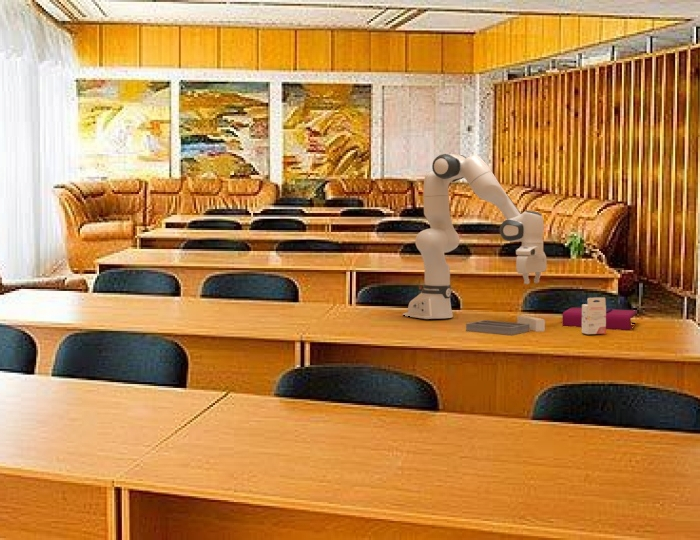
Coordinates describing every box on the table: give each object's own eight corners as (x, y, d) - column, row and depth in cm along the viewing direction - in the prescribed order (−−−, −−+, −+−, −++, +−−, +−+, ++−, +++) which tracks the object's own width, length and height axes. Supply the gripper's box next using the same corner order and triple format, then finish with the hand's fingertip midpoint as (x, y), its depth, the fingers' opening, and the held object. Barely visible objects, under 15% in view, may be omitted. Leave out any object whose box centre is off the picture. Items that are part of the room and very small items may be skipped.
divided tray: (466, 330, 435) (466, 323, 435) (484, 327, 447) (484, 320, 447) (511, 335, 422) (511, 327, 422) (529, 331, 434) (529, 324, 434)
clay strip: (517, 327, 450) (517, 315, 449) (525, 326, 451) (525, 315, 451) (536, 332, 435) (536, 320, 434) (544, 331, 436) (544, 319, 436)
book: (630, 332, 437) (630, 313, 436) (561, 328, 447) (562, 310, 447) (636, 326, 456) (637, 308, 456) (571, 323, 467) (571, 305, 466)
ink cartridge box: (599, 332, 434) (600, 296, 432) (605, 333, 429) (606, 297, 428) (580, 332, 431) (581, 296, 430) (586, 334, 426) (587, 297, 425)
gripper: (537, 248, 450) (536, 281, 451) (513, 250, 434) (513, 284, 435) (550, 249, 446) (550, 282, 448) (527, 251, 430) (527, 285, 431)
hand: (531, 283), depth 441 cm, fingers open, 7 cm apart
